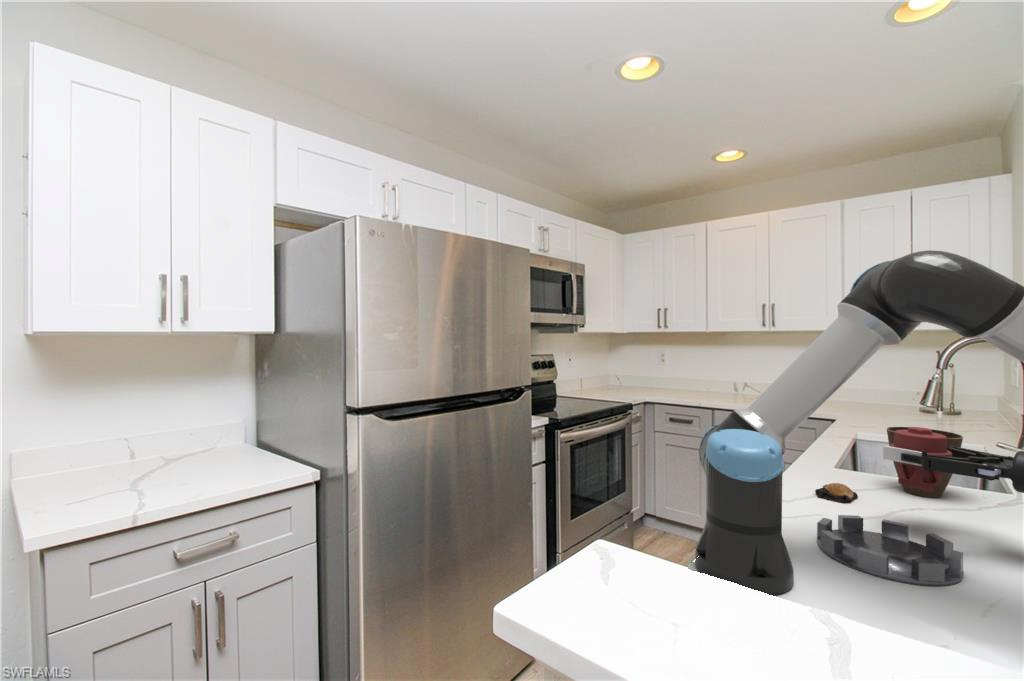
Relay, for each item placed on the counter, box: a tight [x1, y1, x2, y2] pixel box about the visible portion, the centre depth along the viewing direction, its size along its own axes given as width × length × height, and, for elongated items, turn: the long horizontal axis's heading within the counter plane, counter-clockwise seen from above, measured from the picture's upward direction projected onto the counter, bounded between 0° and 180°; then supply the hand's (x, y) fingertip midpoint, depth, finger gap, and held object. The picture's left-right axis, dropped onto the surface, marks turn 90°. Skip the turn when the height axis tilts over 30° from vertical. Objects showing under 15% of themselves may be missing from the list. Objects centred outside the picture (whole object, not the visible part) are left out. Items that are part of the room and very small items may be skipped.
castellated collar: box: [816, 514, 965, 587], centre depth 86 cm, size 21×21×4 cm
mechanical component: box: [888, 426, 952, 492], centre depth 98 cm, size 12×10×10 cm
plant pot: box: [886, 426, 964, 499], centre depth 122 cm, size 15×15×16 cm
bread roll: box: [814, 482, 859, 505], centre depth 119 cm, size 11×8×4 cm
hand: (894, 449), depth 102 cm, fingers closed on mechanical component, 10 cm apart
